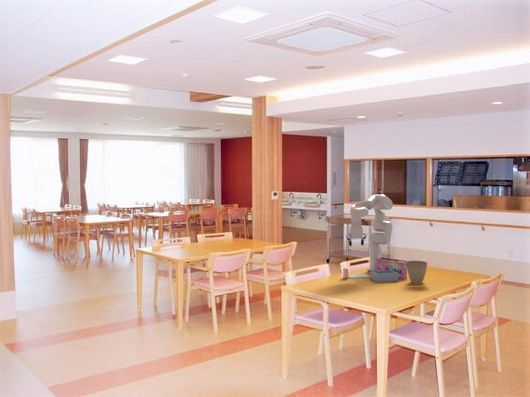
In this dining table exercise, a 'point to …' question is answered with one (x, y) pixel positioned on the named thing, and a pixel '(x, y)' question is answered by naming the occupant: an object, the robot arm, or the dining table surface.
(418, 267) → the plant pot
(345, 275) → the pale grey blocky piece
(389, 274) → the tub
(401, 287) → the dining table surface
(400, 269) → the gum box
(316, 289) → the dining table surface
